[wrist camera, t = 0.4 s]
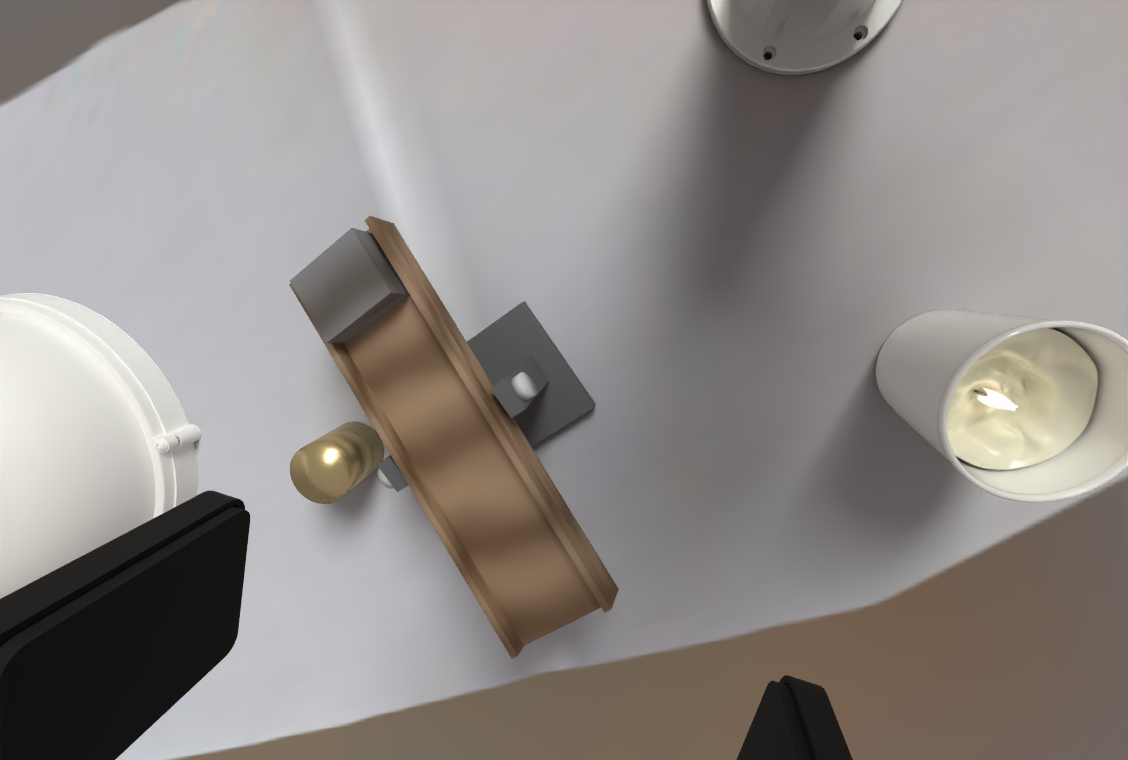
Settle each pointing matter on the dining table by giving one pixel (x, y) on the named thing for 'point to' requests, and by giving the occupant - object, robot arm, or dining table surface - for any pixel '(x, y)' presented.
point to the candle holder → (1013, 399)
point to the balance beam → (452, 436)
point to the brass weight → (336, 462)
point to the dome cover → (81, 436)
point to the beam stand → (521, 381)
